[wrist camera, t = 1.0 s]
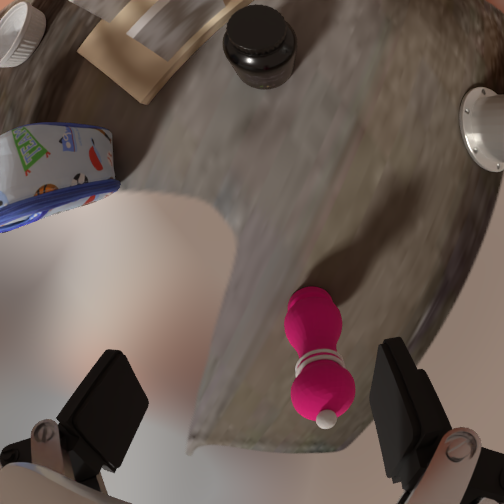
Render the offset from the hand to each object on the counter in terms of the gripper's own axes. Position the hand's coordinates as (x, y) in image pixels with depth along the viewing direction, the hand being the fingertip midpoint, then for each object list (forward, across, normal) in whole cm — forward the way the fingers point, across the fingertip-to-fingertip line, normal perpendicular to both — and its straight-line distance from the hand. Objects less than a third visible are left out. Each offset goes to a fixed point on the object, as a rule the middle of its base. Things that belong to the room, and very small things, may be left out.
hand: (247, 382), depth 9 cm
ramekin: (+27, +39, -41) cm, 62 cm away
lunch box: (+26, +31, -10) cm, 42 cm away
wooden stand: (+26, +10, -30) cm, 41 cm away
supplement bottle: (+27, -2, -18) cm, 32 cm away
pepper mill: (+27, -4, +13) cm, 30 cm away
